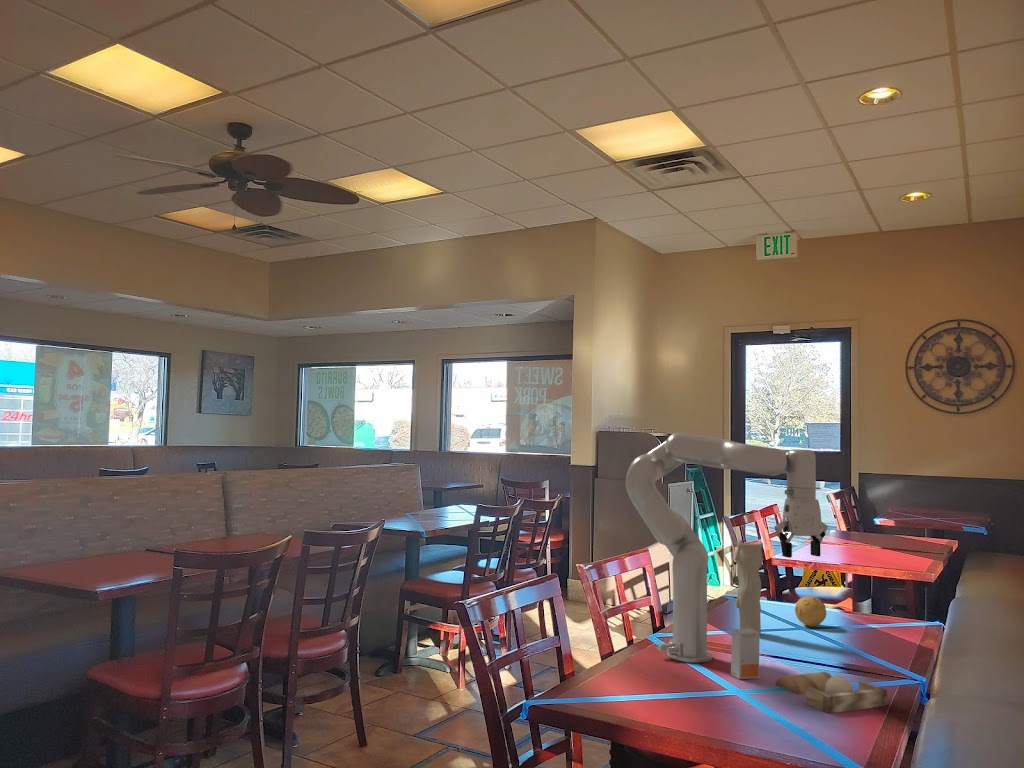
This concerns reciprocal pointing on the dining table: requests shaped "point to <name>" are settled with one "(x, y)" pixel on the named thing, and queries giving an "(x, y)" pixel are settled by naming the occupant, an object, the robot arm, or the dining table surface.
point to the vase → (749, 584)
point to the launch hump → (804, 682)
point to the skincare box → (745, 653)
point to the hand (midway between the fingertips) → (801, 556)
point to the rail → (847, 698)
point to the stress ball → (810, 611)
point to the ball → (838, 685)
